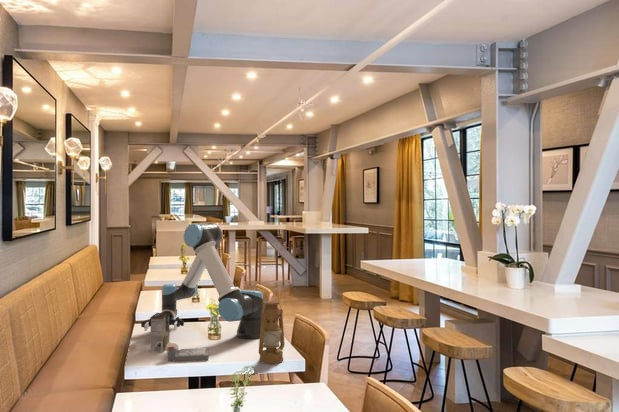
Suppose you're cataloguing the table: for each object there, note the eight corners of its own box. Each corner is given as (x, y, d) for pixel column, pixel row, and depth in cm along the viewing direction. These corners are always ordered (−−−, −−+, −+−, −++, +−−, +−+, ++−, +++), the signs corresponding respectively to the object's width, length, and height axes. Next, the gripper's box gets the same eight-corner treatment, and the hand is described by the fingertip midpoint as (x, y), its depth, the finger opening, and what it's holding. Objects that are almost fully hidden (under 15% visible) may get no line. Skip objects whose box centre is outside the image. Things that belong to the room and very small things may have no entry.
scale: (209, 353, 228) (209, 336, 228) (208, 360, 218) (208, 342, 218) (168, 355, 225) (168, 338, 225) (165, 362, 216) (165, 344, 215)
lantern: (274, 367, 209) (274, 295, 209) (252, 364, 213) (252, 293, 213) (289, 357, 223) (289, 289, 223) (268, 354, 227) (268, 287, 227)
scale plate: (205, 349, 227) (205, 347, 227) (204, 355, 218) (204, 353, 218) (180, 350, 226) (180, 348, 226) (178, 356, 217) (178, 354, 217)
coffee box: (156, 346, 239) (156, 312, 239) (169, 346, 239) (169, 312, 239) (149, 352, 230) (149, 316, 230) (163, 352, 230) (163, 317, 230)
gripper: (191, 324, 262) (187, 334, 241) (141, 325, 259) (132, 336, 238) (191, 309, 262) (187, 319, 241) (141, 311, 259) (132, 320, 238)
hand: (160, 327), depth 239 cm, fingers open, 13 cm apart
